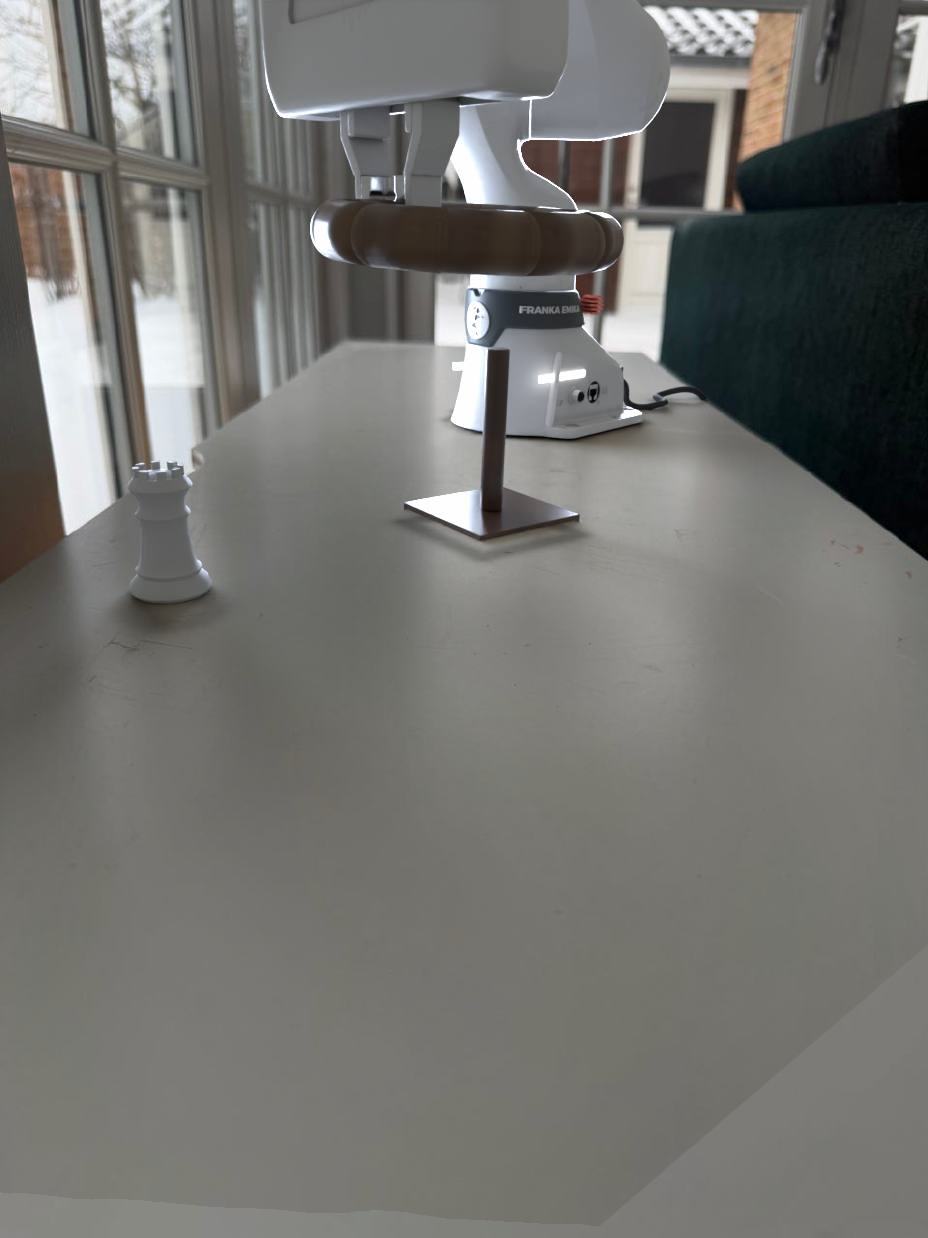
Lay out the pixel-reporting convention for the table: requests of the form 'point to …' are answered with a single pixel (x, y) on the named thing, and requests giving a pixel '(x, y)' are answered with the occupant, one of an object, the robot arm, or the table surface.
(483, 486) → the post
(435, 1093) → the table surface
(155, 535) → the rook chess piece
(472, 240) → the ring
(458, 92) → the robot arm
